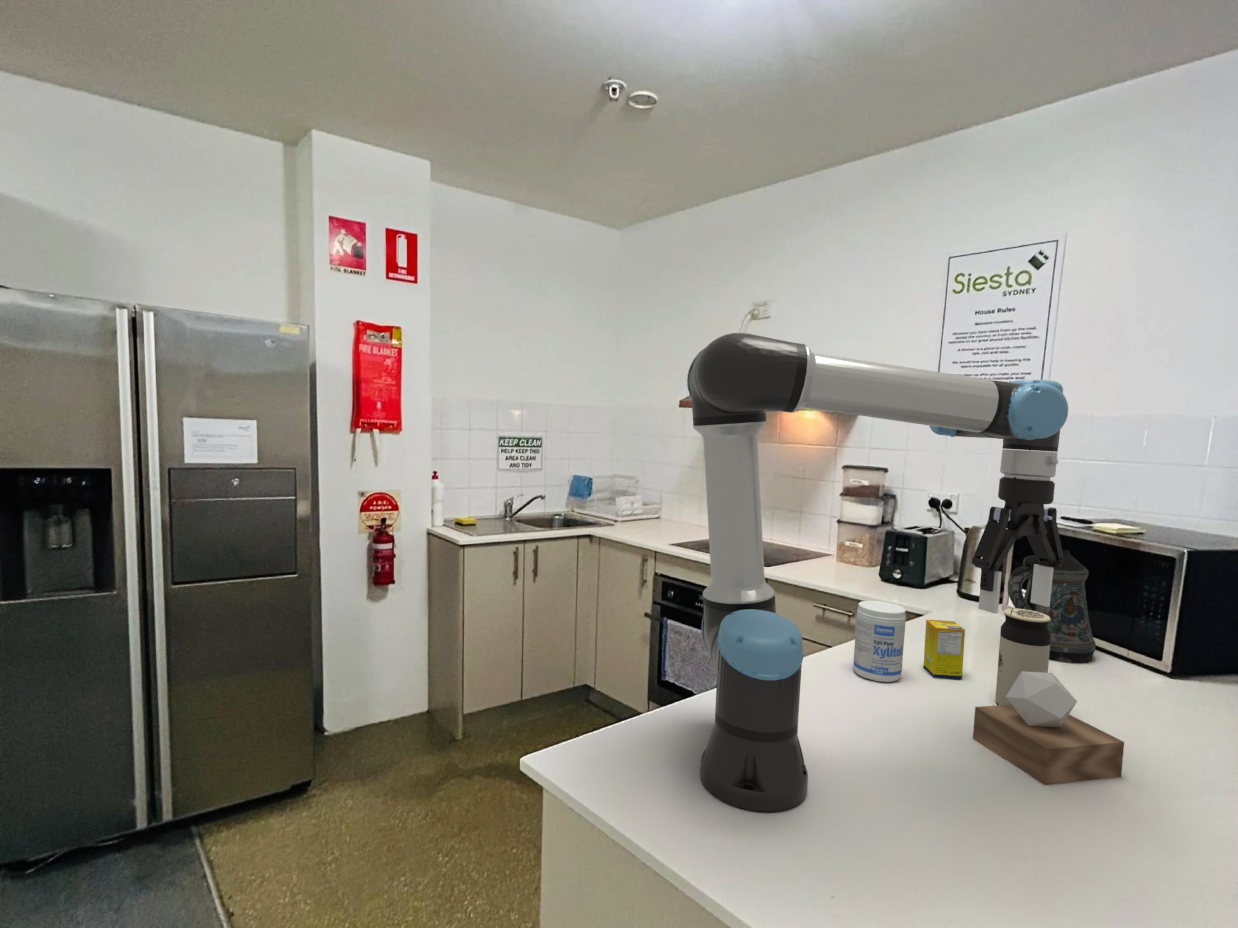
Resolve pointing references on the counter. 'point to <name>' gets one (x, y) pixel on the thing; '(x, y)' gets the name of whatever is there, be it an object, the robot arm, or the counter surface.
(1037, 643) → the travel mug
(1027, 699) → the die
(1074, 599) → the beer stein
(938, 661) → the supplement box
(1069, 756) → the walnut block
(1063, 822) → the counter surface
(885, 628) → the supplement tub
